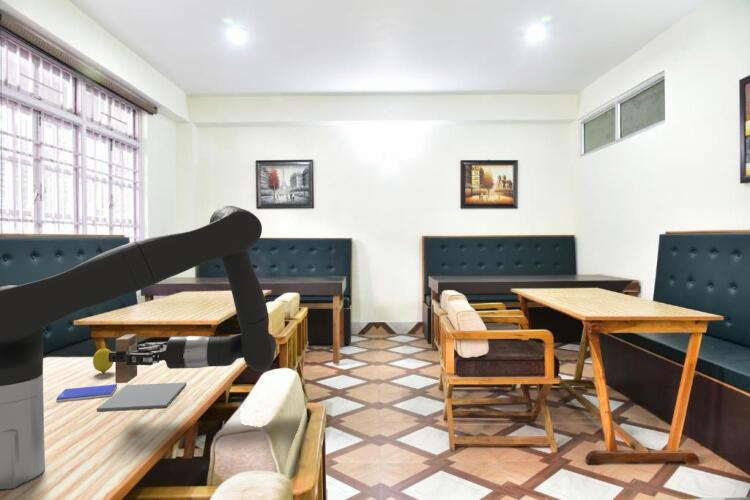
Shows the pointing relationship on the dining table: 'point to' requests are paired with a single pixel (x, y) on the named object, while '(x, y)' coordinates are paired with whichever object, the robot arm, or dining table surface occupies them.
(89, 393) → the hard drive
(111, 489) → the dining table surface
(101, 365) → the lemon
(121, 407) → the grey mat
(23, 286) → the robot arm
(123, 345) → the brown cardboard box
